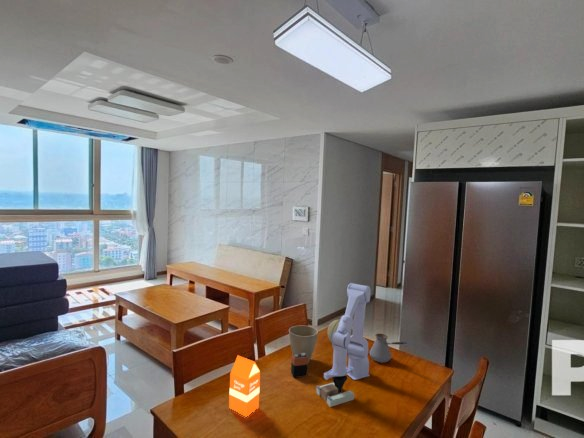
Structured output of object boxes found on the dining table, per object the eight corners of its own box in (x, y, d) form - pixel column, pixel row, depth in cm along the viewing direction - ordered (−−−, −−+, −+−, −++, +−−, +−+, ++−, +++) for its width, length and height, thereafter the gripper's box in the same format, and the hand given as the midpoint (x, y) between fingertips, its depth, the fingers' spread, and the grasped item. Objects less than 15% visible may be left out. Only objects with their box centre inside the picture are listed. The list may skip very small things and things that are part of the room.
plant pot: (322, 361, 163) (323, 330, 163) (304, 371, 152) (305, 339, 152) (300, 351, 173) (301, 322, 173) (281, 360, 162) (282, 330, 161)
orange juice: (246, 418, 117) (248, 365, 116) (228, 409, 122) (230, 358, 121) (259, 407, 124) (261, 357, 123) (241, 399, 128) (243, 351, 127)
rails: (338, 386, 141) (339, 379, 141) (353, 399, 132) (354, 392, 132) (316, 392, 135) (316, 385, 135) (330, 406, 126) (330, 399, 126)
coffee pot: (364, 357, 170) (366, 329, 169) (378, 352, 176) (380, 326, 176) (397, 376, 152) (399, 345, 151) (412, 369, 159) (414, 340, 158)
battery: (307, 376, 148) (308, 355, 148) (293, 378, 146) (294, 356, 146) (304, 371, 152) (305, 351, 152) (290, 373, 150) (291, 352, 150)
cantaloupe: (326, 348, 178) (327, 322, 177) (327, 338, 192) (328, 314, 192) (352, 351, 176) (354, 325, 175) (352, 341, 190) (353, 316, 189)
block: (332, 392, 136) (332, 383, 135) (337, 398, 132) (338, 388, 132) (320, 396, 133) (321, 387, 133) (326, 401, 129) (326, 392, 129)
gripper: (347, 353, 141) (345, 383, 141) (320, 359, 134) (318, 390, 134) (357, 360, 134) (356, 391, 135) (330, 367, 127) (328, 400, 128)
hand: (338, 391), depth 134 cm, fingers closed
